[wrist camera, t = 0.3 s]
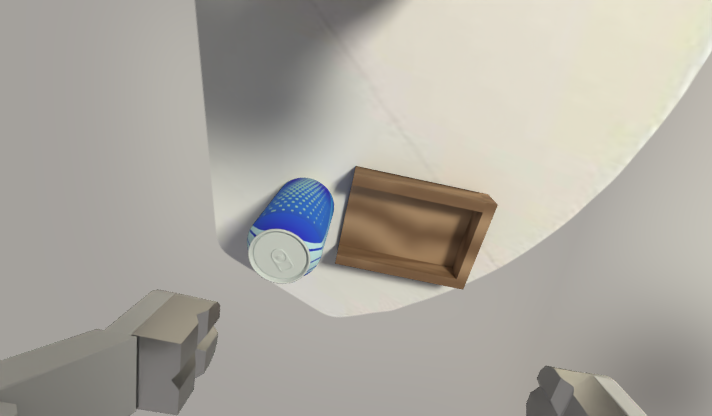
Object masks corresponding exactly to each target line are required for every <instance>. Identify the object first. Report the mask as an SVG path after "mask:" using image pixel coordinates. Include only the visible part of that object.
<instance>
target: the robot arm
mask: <svg viewBox="0 0 712 416" xmlns="http://www.w3.org/2000/svg"><path fill="white" fill-rule="evenodd" d="M219 317H220V305H219V303H218V302H216V301H211V300H206V299H202V298H197V297H193V296H188V295H183V294H177V293H174V292H168V291H163V290H153V291H151V292H150V293H149V294H148V295H146V296H145V297H144V298H143V299H141V300H140V301H139V302H138V303H137V304H135V305H134V306H133V307H132V308H130V309H129V310H128V311H127V312H126V313H124V314H123V315H122V316H121V317H119V318H118V319H117V320H116V321H114V322H113V323H112V324H111V325H110V326H108V327H107V328H106V329H105V330H100V329H95V330H92V331H89V332H86V333H83V334H80V335H77V336H74V337H71V338H68V339H65V340H62V341H59V342H55V343H53V344H49V345H46V346H43V347H40V348H37V349H34V350H31V351H28V352H25V353H22V354H19V355H16V356H13V357H10V358H7V359H4V360H1V361H0V416H130V415H131V414H133V413H134V412H136V409H141V410H147V411H153V412H160V413H166V414H173V415H178V414H179V412H180V410H181V409H182V407H183V406H184V404H185V403H186V401H187V399H188V398H189V396H190V394H191V393H192V392H193V390H194V381H195V378H197V377H198V376H200V375H202V374H204V372H205V371H206V369H207V367H208V366H209V364H210V362H211V359H212V357H213V355H214V352H215V348H216V344H217V338H218V332H217V330H216V329H215V327H214V324H215V323H216V322H217V320H218V319H219ZM537 380H538V383H539V386H540V387H538V388H537V389H535V390H534V391H532V392H531V393H530V395H529V398H528V400H527V403H526V416H647V415H646V414H645V413H644V412H643V411H642V409H641V408H640V407H639V406H638V405H637V404H636V403H635V402H634V401H633V400H632V399H631V398H630V397H629V395H628V394H627V393H626V392H625V391H624V390H623V389H622V388H621V387H620V386H619V385H618V384H617V382H616V381H615V380H613V379H611V378H610V377H608V376H604V375H599V374H592V373H582V372H577V371H572V370H566V369H561V368H555V367H550V366H545V367H544V368H543V369H541V370H540V372H539V375H538V377H537Z"/></svg>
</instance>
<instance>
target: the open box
mask: <svg viewBox="0 0 712 416" xmlns="http://www.w3.org/2000/svg"><path fill="white" fill-rule="evenodd" d="M496 208H497V204H496V202H495V201H494V200H493V199H492V198H491V197H490V196H489V195H488V194H484V193H479V192H474V191H470V190H465V189H460V188H456V187H451V186H446V185H442V184H437V183H432V182H428V181H423V180H418V179H414V178H409V177H405V176H400V175H395V174H391V173H386V172H381V171H377V170H372V169H367V168H363V167H358V166H356V167H355V172H354V177H353V181H352V186H351V191H350V195H349V200H348V205H347V209H346V214H345V219H344V223H343V228H342V233H341V237H340V242H339V247H338V252H337V257H336V262H335V264H340V265H345V266H350V267H355V268H360V269H365V270H370V271H375V272H380V273H384V274H389V275H394V276H399V277H404V278H409V279H414V280H419V281H424V282H429V283H434V284H439V285H443V286H448V287H453V288H458V289H463V288H464V286H465V284H466V281H467V279H468V276H469V274H470V271H471V269H472V266H473V264H474V262H475V259H476V257H477V254H478V252H479V249H480V247H481V245H482V242H483V240H484V237H485V235H486V232H487V230H488V227H489V225H490V223H491V220H492V218H493V215H494V213H495V210H496Z"/></svg>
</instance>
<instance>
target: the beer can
mask: <svg viewBox="0 0 712 416" xmlns="http://www.w3.org/2000/svg"><path fill="white" fill-rule="evenodd" d="M333 212H334V201H333V198H332V195H331V193H330V192H329V190H328V189H327V188H326V187H325V186H324V185H323V184H321V183H320V182H318V181H316V180H314V179H310V178H297V179H293V180H291V181H289V182H287V183H286V184H285V185H284V186H283V187H282V188H281V189H280V191H279V192H278V193H277V194H276V196H275V197H274V198H273V200H272V201H271V202H270V203H269V205H268V206H267V207H266V209H265V210H264V211H263V212H262V214H261V215H260V216H259V218H258V219H257V220H256V221H255V223H254V224H253V225H252V227H251V229H250V231H249V234H248V238H247V247H248V257H249V261H250V264H251V266H252V268H253V269H254V271H255V272H256V273H257V274H258V275H259V276H261V277H262V278H264V279H266V280H268V281H270V282H273V283H278V284H287V283H292V282H295V281H297V280H299V279H300V278H302V277H303V276H305V275H307V274H308V273H310V272H311V271H312V270H313V269H314V268H315V267H316V266H317V264H318V263H319V261H320V258H321V255H322V252H323V248H324V244H325V241H326V237H327V234H328V230H329V226H330V223H331V219H332V216H333Z"/></svg>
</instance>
